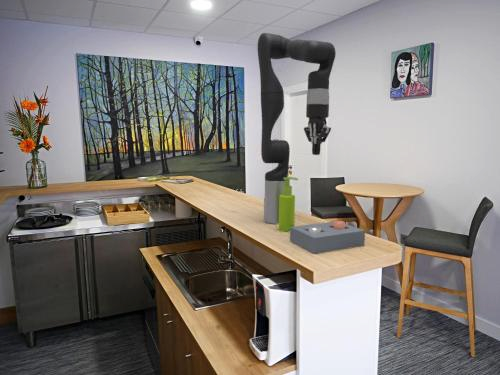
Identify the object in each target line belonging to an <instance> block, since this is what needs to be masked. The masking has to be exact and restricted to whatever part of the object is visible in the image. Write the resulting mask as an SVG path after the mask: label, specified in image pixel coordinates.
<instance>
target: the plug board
mask: <svg viewBox="0 0 500 375" xmlns="http://www.w3.org/2000/svg"><path fill="white" fill-rule="evenodd" d="M311 226H317V227H320V228H321V232H319V233H311V232H309V231H308V229H309V227H311ZM365 240H366V230H364V229H362V228H359V227H356V226H353V225H350V224H347V223H345V229H340V230H337V229H334V228H333V221H328V222H319V223H312V224H303V225H294V227H290V232H289V242H291V243H293V244H294V245H295V246H296V245H297V246H298V247H300V248H302V249H304V250H306V251H307V252H310V253H312V254H314V255H315V254H321V253H326V252H332V251H333V252H334V251H339V250H344V249H345V250H346V249H350V248H357V247H361V246H365Z"/></svg>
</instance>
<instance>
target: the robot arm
mask: <svg viewBox="0 0 500 375" xmlns="http://www.w3.org/2000/svg"><path fill="white" fill-rule="evenodd" d="M257 57H258V66H259V67H258V68H259V76H260V77H259V78H260V81H259V82H260V107H261V109H260V110H261V146H260V149H261V150H260V151H261V152H260V155H261V160H262V162H263V163H264V164H277V166H276V167H275V168H274V169H272V170H269V171H267V172H265V175H264V198H263V220H264V222H265V223H267V224H275V225H276V224H277V225H279V195H282V194H283V186H284V185H285V180H283V179H284V177H289V166H290V165H289V164H290V152H291V151H290V150H291V148H290V144H289V142H288V141H287V140H285V139H284V140H283V139H272V133H273V129H274V126H275V124H276V123H277V121H278V119H279V117H280V116H281V115H282V113H283V111H284V109H285V108H284V107H285V98H284V97H285V95H284V94H285V93H284V88H283V86H282V83H281V81H280V80H279V78H278V76H277V75H276V73H275V70H274V69H273V66H272V65H273V64H272V60H281V59H282V60H283V59H287V58H289V59H291V60H294V61H295V60H296V61H298V62H299V61H300V62H305V63H308V64H318V69H317V70H313V71H311V72H309V73H308V76H307V92H306V108H305V109H306V111H305V112H306V113H305V114H306V116H305V117H306V118H307V119H308V122H307V126H305V127H304V128H303V131H304V134H305V136H306V139H307V141H308V142H310V144H312V145H311V146H312V147H311V153H312V155H313V156H320V155H321V145H322V144H323V143H325V142H326V140H327V138H328V136H329V134H330V132H331V131H332V128H331V127H329V126H328V125H327V123H328V122H327V118H329V115H330V112H329V111H330V76H331V73H332V70H333V66H334V62H335V60H336V48H335V45H334V44H333V43H331V42H329V41H320V40H319V41H318V40H311V39H293V40H292V39H291V40H290V39H289V38H286V37H284V36H282V35H279V34H274V33H269V32H263V33H261V34H260V35H259V38H258V40H257Z"/></svg>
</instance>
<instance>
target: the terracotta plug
mask: <svg viewBox="0 0 500 375" xmlns="http://www.w3.org/2000/svg"><path fill="white" fill-rule="evenodd" d="M332 222H333V228H334V229H337V230H340V229H345V224H346V221H344V220H332Z"/></svg>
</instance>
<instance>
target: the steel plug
mask: <svg viewBox="0 0 500 375" xmlns="http://www.w3.org/2000/svg"><path fill="white" fill-rule="evenodd" d="M308 231H309V232H311V233H319V232H321V228H320V227H317V226H311V227H309V229H308Z"/></svg>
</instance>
